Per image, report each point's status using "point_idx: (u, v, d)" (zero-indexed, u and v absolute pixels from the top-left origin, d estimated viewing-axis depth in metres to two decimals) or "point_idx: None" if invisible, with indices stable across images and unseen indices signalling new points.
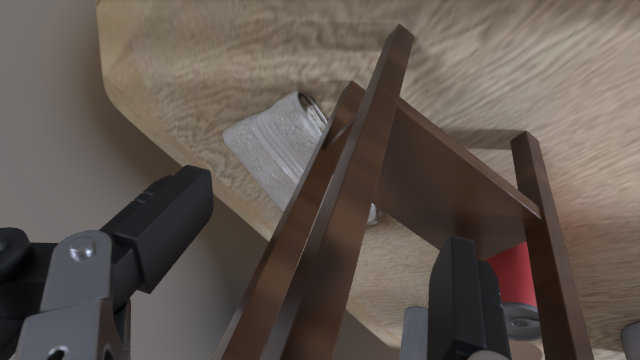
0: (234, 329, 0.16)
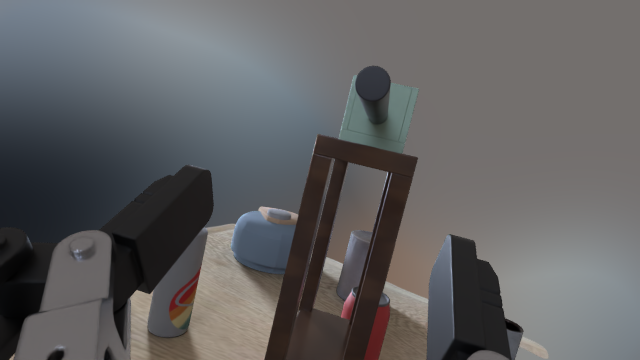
0: (373, 251, 0.29)
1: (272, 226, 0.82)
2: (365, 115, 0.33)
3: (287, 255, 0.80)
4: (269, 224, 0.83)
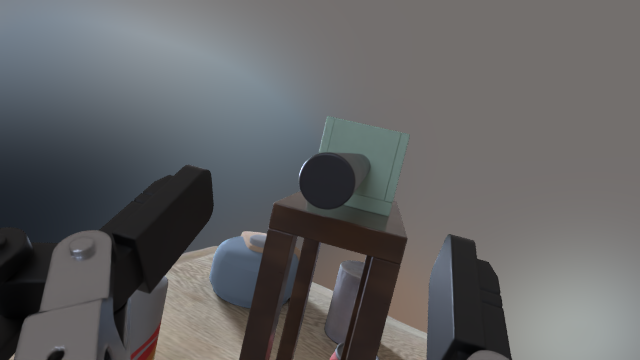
0: (348, 359, 0.21)
1: (254, 256, 0.74)
2: None
3: None
4: (251, 254, 0.75)
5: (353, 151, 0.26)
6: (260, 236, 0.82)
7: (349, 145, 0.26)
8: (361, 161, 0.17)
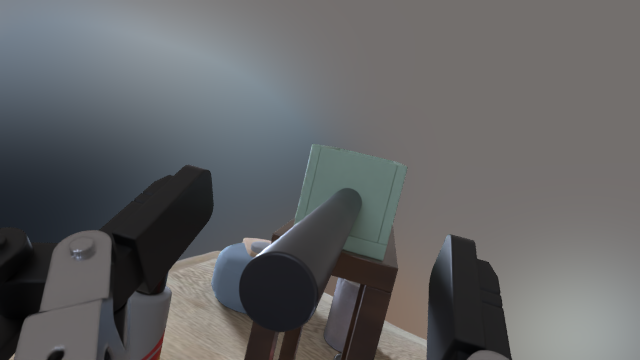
0: None
1: None
2: None
3: None
4: None
5: (342, 185, 0.23)
6: (261, 243, 0.83)
7: (337, 178, 0.23)
8: (343, 220, 0.14)
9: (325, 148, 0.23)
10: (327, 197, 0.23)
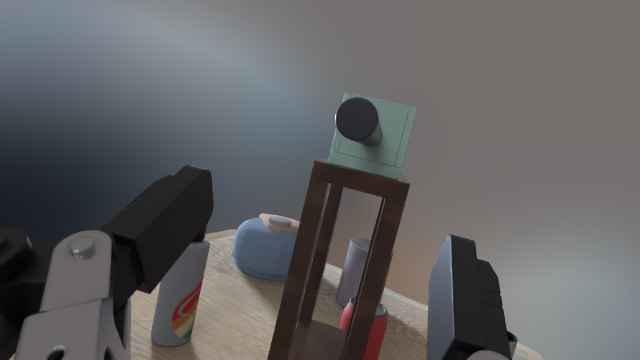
0: (367, 272, 0.30)
1: (273, 234, 0.83)
2: None
3: (287, 262, 0.82)
4: (270, 232, 0.84)
5: None
6: (277, 217, 0.91)
7: None
8: None
9: (355, 95, 0.30)
10: None
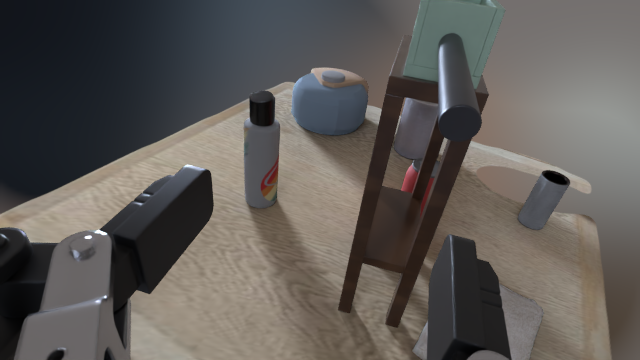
0: (440, 172, 0.34)
1: (328, 92, 0.84)
2: (435, 47, 0.29)
3: (345, 118, 0.86)
4: (325, 90, 0.85)
5: (446, 31, 0.28)
6: (330, 72, 0.90)
7: (443, 25, 0.28)
8: (469, 72, 0.20)
9: None
10: (433, 42, 0.28)
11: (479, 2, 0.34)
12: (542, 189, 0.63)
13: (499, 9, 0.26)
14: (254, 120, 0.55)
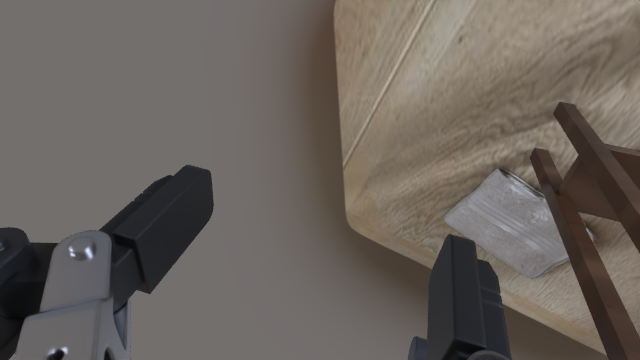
0: (599, 297, 0.28)
1: None
2: None
3: None
4: None
5: None
6: None
7: None
8: None
9: None
10: None
11: None
12: None
13: None
14: None
